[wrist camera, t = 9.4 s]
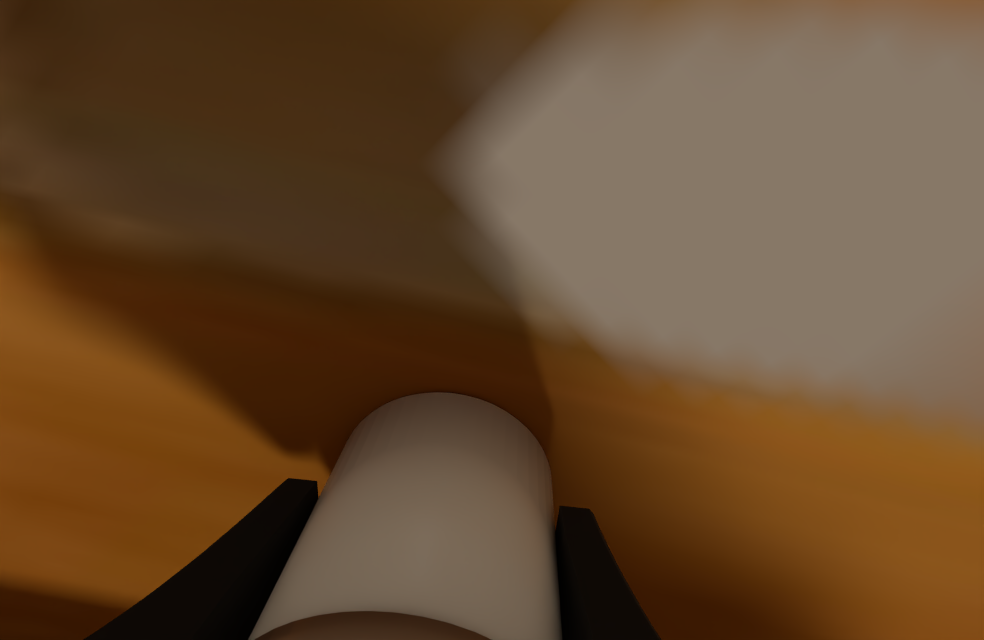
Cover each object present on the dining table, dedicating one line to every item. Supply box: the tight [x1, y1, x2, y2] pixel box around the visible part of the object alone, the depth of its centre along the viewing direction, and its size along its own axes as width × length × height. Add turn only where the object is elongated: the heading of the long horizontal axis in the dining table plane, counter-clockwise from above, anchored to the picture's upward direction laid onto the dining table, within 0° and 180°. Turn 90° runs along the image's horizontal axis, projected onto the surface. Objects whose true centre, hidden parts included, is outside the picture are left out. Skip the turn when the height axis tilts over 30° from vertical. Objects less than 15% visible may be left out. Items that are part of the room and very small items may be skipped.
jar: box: [248, 392, 563, 640], centre depth 10 cm, size 5×5×6 cm
